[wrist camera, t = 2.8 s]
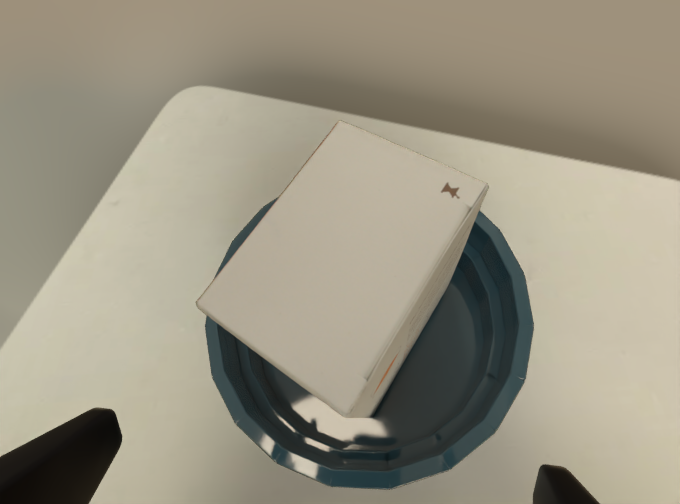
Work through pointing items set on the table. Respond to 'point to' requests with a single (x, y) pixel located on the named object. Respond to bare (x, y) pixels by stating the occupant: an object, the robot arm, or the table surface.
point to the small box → (348, 266)
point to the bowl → (396, 382)
